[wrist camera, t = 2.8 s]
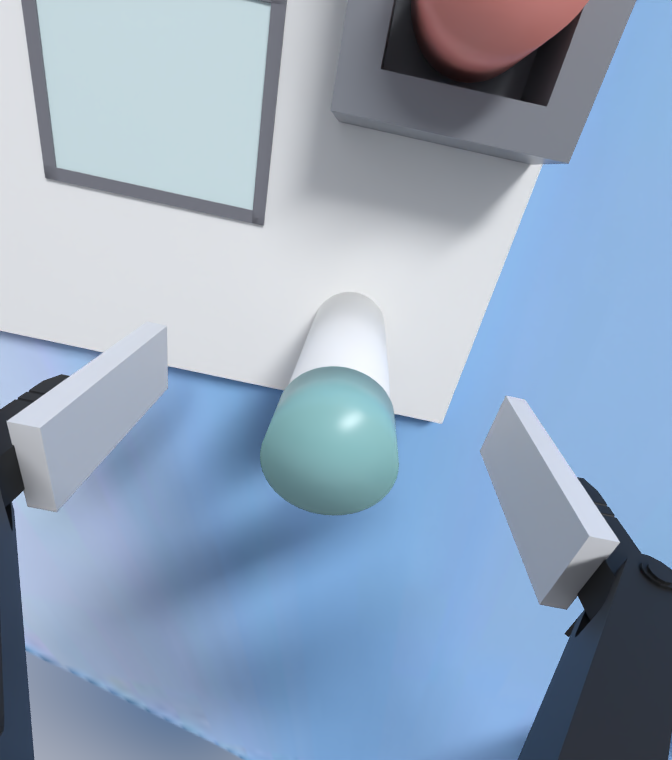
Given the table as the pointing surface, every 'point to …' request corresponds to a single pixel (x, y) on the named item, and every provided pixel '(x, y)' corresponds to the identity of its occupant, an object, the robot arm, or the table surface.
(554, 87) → the button housing
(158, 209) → the sheet
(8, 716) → the robot arm
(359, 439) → the marker
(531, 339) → the table surface
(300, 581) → the table surface
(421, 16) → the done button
